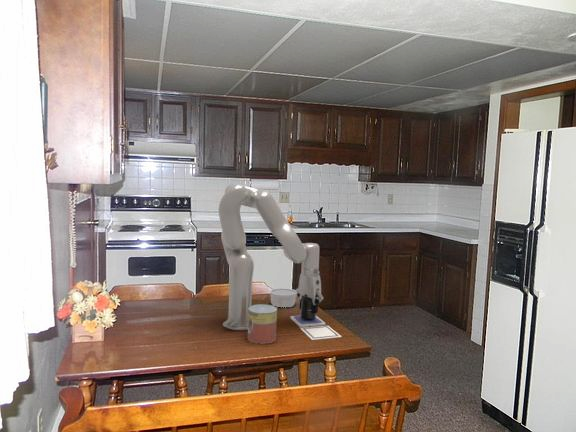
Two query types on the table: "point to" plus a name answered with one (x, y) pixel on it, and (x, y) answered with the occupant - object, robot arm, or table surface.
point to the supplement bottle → (307, 308)
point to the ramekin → (283, 297)
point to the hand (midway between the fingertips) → (308, 310)
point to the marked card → (320, 332)
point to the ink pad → (307, 321)
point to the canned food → (262, 323)
